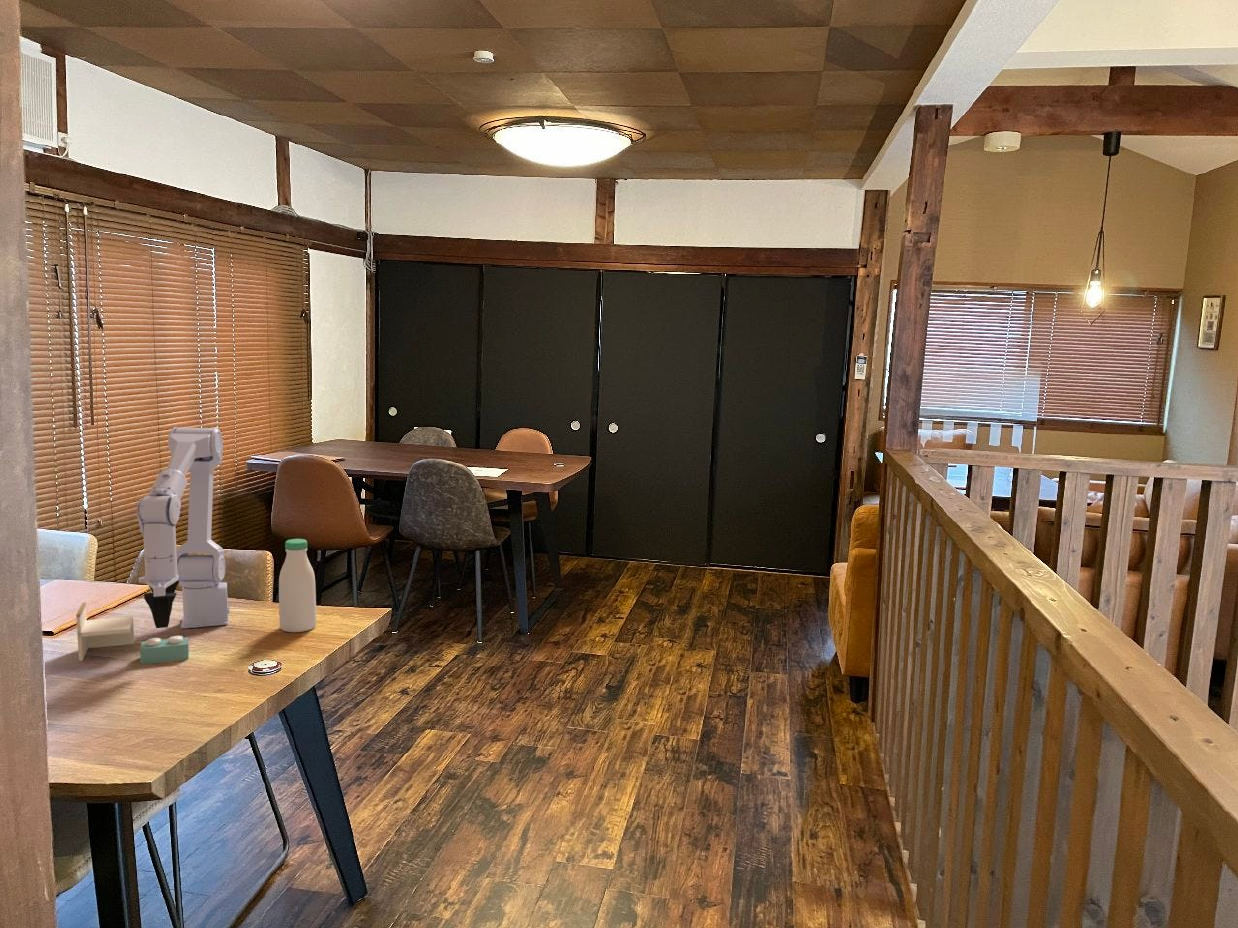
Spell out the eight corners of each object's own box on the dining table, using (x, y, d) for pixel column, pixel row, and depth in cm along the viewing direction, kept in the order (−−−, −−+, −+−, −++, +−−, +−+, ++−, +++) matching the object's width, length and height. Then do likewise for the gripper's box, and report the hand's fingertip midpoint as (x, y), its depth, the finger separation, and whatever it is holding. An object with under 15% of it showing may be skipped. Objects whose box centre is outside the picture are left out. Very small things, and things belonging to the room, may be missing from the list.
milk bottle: (322, 628, 202) (321, 541, 199) (290, 635, 197) (288, 546, 194) (305, 619, 207) (303, 534, 204) (273, 627, 202) (271, 540, 199)
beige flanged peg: (134, 642, 189) (132, 598, 188) (130, 656, 182) (128, 610, 181) (85, 647, 186) (82, 602, 184) (79, 661, 179) (76, 614, 177)
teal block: (189, 652, 186) (188, 633, 185) (188, 660, 182) (187, 640, 181) (142, 657, 182) (141, 637, 182) (141, 665, 178) (139, 645, 178)
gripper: (141, 548, 184) (144, 612, 186) (134, 565, 170) (137, 634, 173) (179, 545, 186) (182, 609, 188) (175, 563, 173) (178, 631, 175)
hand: (163, 621), depth 181 cm, fingers open, 7 cm apart
